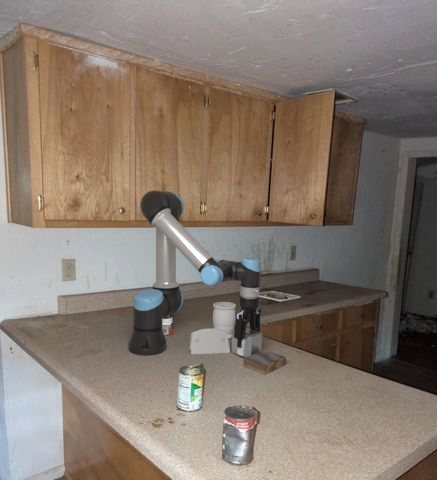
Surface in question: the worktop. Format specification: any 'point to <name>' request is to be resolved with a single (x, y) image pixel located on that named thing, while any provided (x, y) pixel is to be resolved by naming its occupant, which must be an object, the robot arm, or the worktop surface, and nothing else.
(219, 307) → the jar
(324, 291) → the worktop surface
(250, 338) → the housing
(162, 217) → the robot arm
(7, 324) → the worktop surface
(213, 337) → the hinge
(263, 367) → the stand
